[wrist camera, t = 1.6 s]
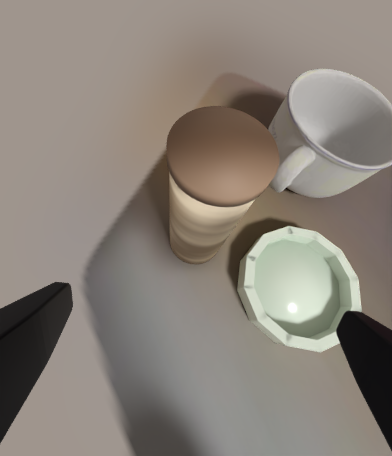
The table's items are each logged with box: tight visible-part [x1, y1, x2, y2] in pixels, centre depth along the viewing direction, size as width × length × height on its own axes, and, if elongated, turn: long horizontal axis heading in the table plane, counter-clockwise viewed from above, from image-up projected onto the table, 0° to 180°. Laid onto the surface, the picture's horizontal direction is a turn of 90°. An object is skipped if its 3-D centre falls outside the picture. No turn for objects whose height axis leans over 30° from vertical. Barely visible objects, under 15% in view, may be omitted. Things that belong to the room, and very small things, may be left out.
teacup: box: [268, 69, 392, 198], centre depth 22 cm, size 14×11×8 cm
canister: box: [167, 106, 279, 264], centre depth 16 cm, size 5×5×12 cm
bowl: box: [237, 226, 362, 352], centre depth 20 cm, size 10×10×2 cm
